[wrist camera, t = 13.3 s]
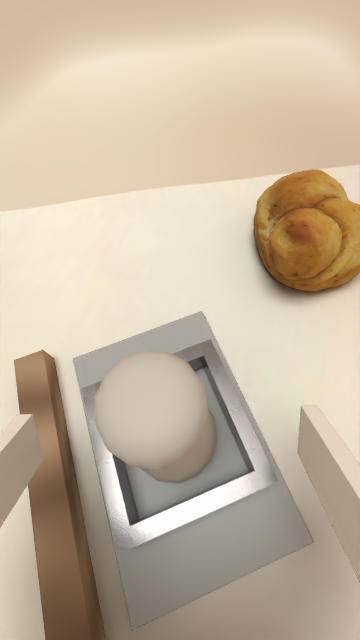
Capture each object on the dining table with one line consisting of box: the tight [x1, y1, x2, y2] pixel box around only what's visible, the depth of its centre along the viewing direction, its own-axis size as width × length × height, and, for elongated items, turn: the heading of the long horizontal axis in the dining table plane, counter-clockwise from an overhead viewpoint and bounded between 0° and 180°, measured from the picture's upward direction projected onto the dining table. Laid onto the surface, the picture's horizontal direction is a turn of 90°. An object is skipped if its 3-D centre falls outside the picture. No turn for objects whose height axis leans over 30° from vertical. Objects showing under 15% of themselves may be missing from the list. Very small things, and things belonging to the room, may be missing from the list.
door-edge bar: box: [14, 350, 105, 640], centre depth 20 cm, size 20×2×2 cm, turn 21°
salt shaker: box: [95, 350, 217, 483], centre depth 16 cm, size 6×6×13 cm
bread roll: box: [254, 170, 360, 291], centre depth 26 cm, size 13×10×8 cm
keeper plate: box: [73, 311, 314, 630], centre depth 21 cm, size 18×12×4 cm, turn 21°
